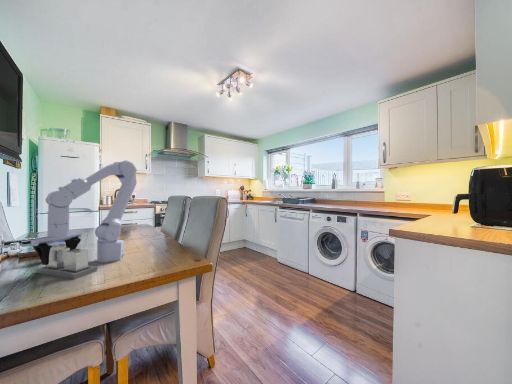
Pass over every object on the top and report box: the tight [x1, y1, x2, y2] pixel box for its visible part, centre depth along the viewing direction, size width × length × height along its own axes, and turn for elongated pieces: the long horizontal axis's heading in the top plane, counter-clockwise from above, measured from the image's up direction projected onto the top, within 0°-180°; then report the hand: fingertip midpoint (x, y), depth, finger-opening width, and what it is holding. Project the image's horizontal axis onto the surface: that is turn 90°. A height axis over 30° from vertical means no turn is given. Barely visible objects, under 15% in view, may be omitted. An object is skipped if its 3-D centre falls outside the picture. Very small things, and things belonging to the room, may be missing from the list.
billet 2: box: [64, 248, 89, 273], centre depth 74 cm, size 6×4×8 cm
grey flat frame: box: [35, 265, 98, 280], centre depth 75 cm, size 18×7×2 cm, turn 75°
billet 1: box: [45, 247, 70, 270], centre depth 76 cm, size 6×4×8 cm
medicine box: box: [47, 239, 66, 248], centre depth 92 cm, size 8×4×9 cm, turn 168°
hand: (58, 261), depth 76 cm, fingers open, 7 cm apart
